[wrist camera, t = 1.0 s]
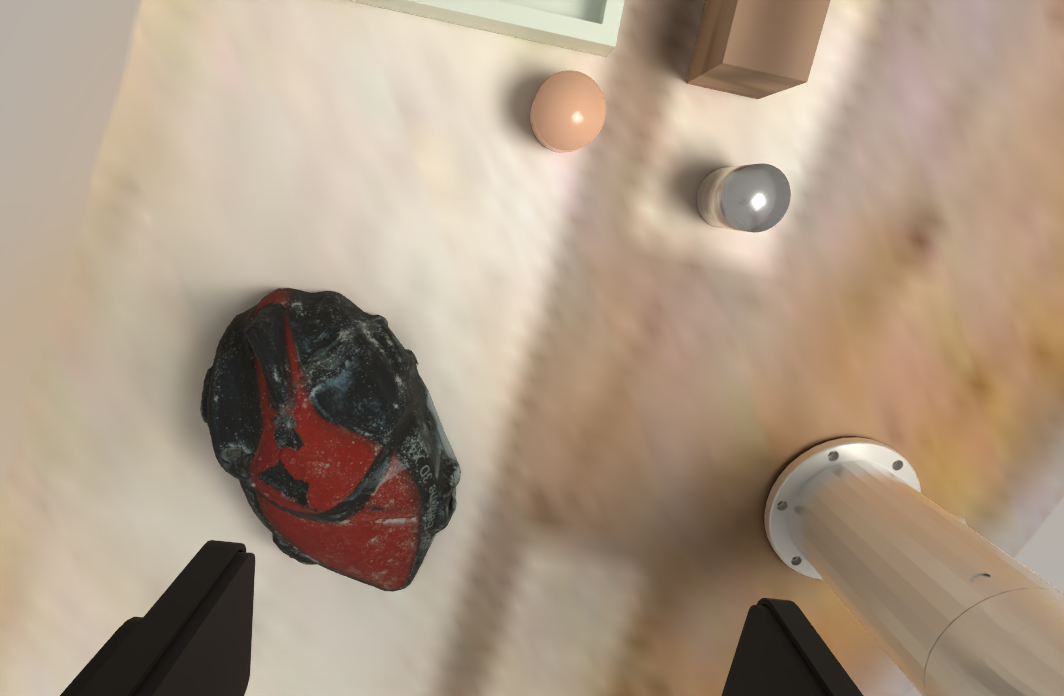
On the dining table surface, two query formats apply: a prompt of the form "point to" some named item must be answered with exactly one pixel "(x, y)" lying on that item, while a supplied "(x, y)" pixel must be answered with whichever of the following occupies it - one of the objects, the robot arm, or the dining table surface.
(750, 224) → the grey cylinder
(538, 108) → the peach rounded capsule
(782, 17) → the walnut block
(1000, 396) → the dining table surface
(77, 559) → the dining table surface
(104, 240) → the dining table surface
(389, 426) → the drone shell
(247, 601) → the robot arm
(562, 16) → the tray
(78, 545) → the dining table surface
